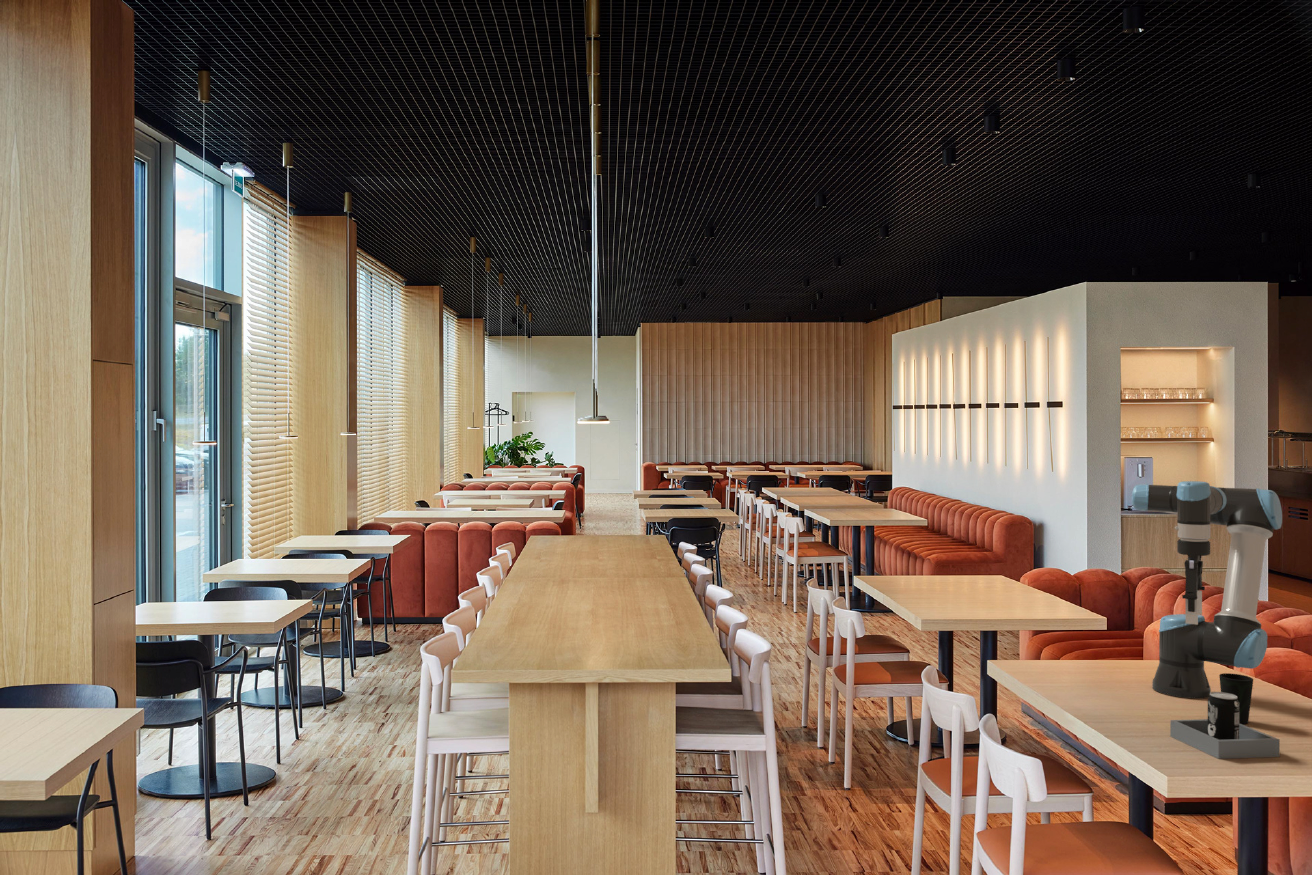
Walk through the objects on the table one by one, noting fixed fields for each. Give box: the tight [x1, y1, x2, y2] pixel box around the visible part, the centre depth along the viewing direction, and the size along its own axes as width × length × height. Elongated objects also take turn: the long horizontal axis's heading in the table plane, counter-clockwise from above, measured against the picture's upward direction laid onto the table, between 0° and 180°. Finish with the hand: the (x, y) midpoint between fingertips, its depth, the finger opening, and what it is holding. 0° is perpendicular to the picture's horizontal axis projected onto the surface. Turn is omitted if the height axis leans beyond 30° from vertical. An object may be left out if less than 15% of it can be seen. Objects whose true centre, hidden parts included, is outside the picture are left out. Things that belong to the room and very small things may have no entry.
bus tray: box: [1170, 718, 1280, 760], centre depth 216 cm, size 16×16×4 cm
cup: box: [1218, 672, 1254, 726], centre depth 237 cm, size 8×8×12 cm
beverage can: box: [1207, 691, 1239, 740], centre depth 216 cm, size 7×7×12 cm
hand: (1193, 618), depth 234 cm, fingers open, 13 cm apart
